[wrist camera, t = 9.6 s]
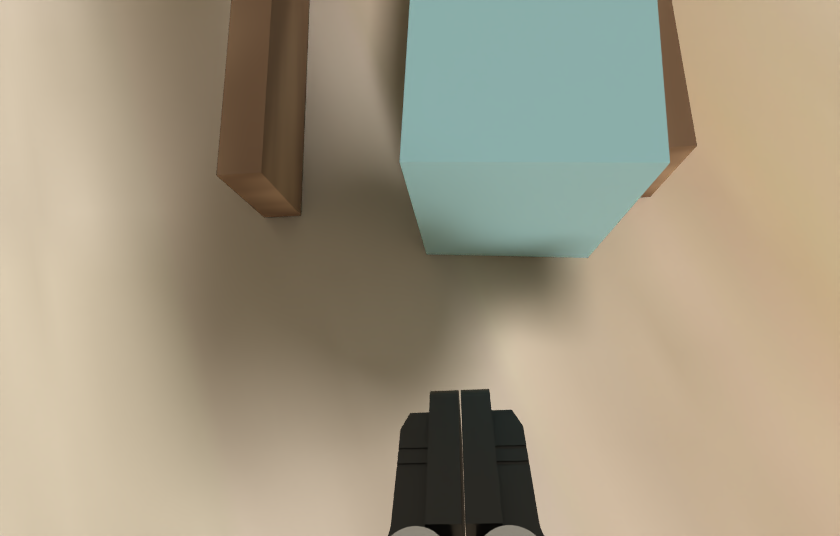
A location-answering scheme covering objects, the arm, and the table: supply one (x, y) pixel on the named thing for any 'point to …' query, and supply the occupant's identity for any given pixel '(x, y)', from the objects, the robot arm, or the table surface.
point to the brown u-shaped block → (286, 93)
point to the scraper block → (530, 122)
